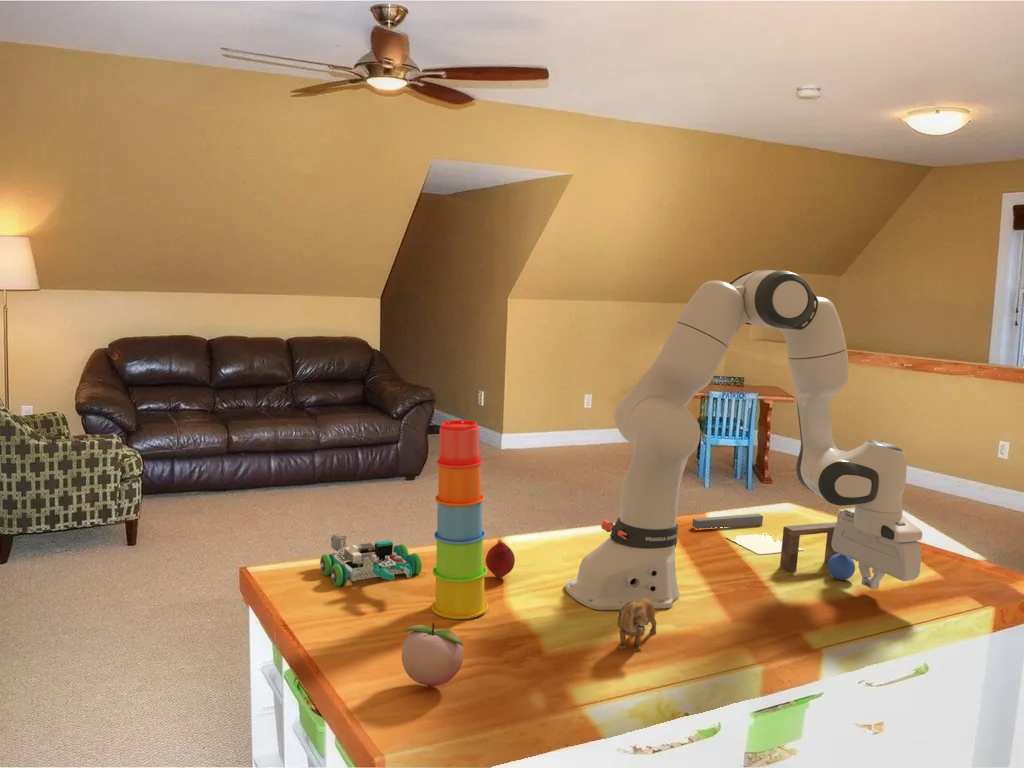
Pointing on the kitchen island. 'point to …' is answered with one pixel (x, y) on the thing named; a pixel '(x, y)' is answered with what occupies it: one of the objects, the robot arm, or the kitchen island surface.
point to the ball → (841, 567)
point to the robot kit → (368, 561)
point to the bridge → (792, 542)
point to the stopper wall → (728, 521)
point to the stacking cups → (459, 524)
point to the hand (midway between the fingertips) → (869, 586)
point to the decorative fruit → (431, 655)
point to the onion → (500, 559)
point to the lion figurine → (635, 621)
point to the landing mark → (760, 544)
